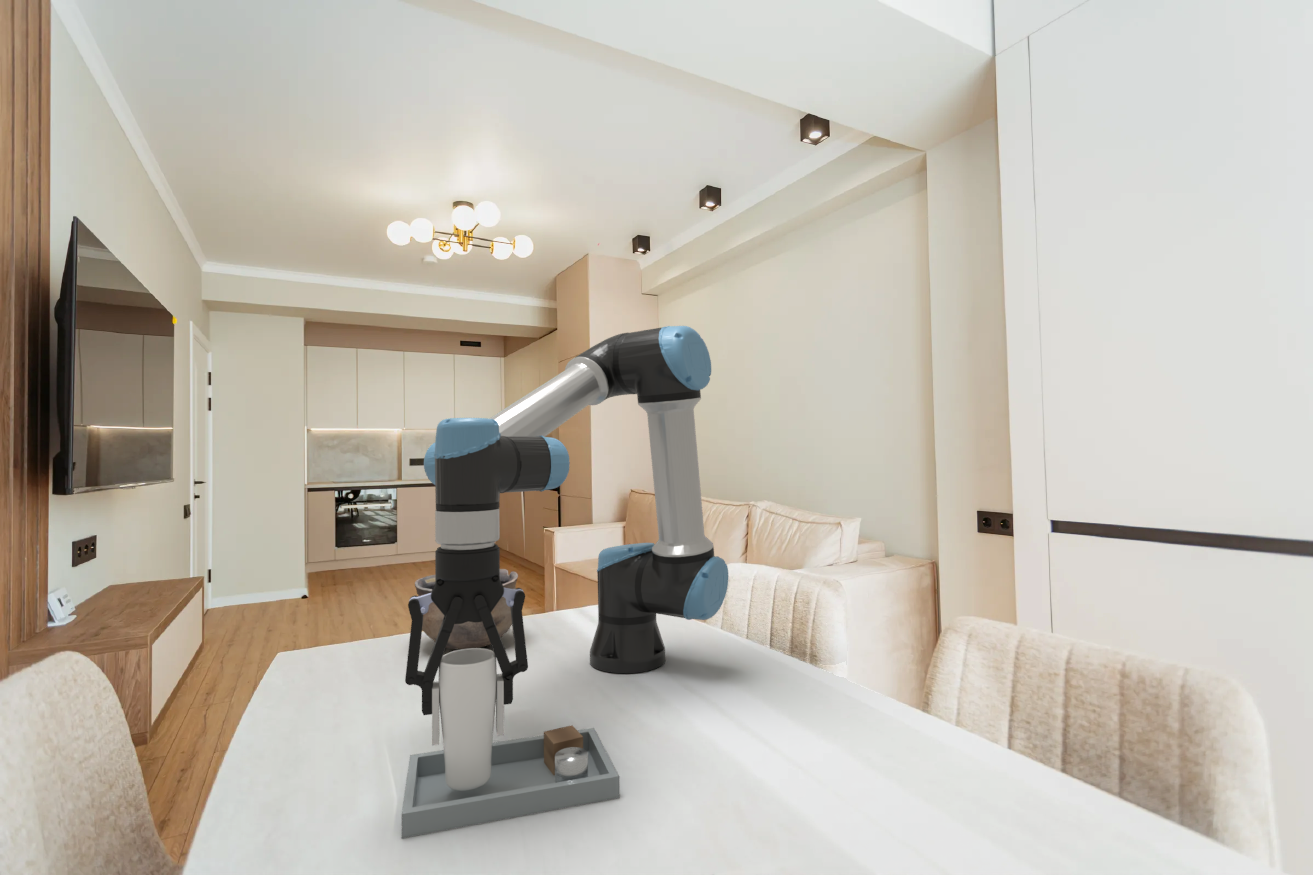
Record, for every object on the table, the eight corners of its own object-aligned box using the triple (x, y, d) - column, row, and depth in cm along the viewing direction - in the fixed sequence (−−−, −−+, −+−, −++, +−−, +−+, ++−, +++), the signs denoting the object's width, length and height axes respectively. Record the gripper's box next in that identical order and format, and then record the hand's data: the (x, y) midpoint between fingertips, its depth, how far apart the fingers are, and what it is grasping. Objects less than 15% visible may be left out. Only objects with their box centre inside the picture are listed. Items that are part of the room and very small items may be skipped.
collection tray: (594, 749, 87) (594, 727, 88) (619, 802, 74) (619, 775, 74) (410, 779, 80) (410, 754, 80) (401, 843, 67) (401, 813, 67)
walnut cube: (572, 754, 85) (572, 725, 85) (583, 767, 81) (583, 736, 81) (543, 762, 83) (543, 731, 83) (553, 775, 79) (553, 743, 80)
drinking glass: (481, 799, 72) (480, 666, 72) (427, 793, 73) (427, 663, 73) (506, 769, 78) (506, 648, 79) (457, 765, 80) (456, 646, 80)
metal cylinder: (584, 777, 79) (584, 744, 79) (591, 793, 75) (590, 759, 75) (552, 782, 78) (552, 749, 78) (557, 799, 74) (557, 764, 74)
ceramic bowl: (538, 636, 144) (538, 570, 144) (482, 666, 123) (482, 589, 123) (457, 628, 151) (457, 565, 151) (391, 655, 130) (391, 583, 131)
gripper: (544, 536, 83) (545, 712, 82) (383, 544, 77) (383, 734, 76) (553, 544, 76) (554, 736, 75) (376, 553, 70) (376, 762, 69)
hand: (468, 734), depth 76 cm, fingers closed on drinking glass, 7 cm apart
